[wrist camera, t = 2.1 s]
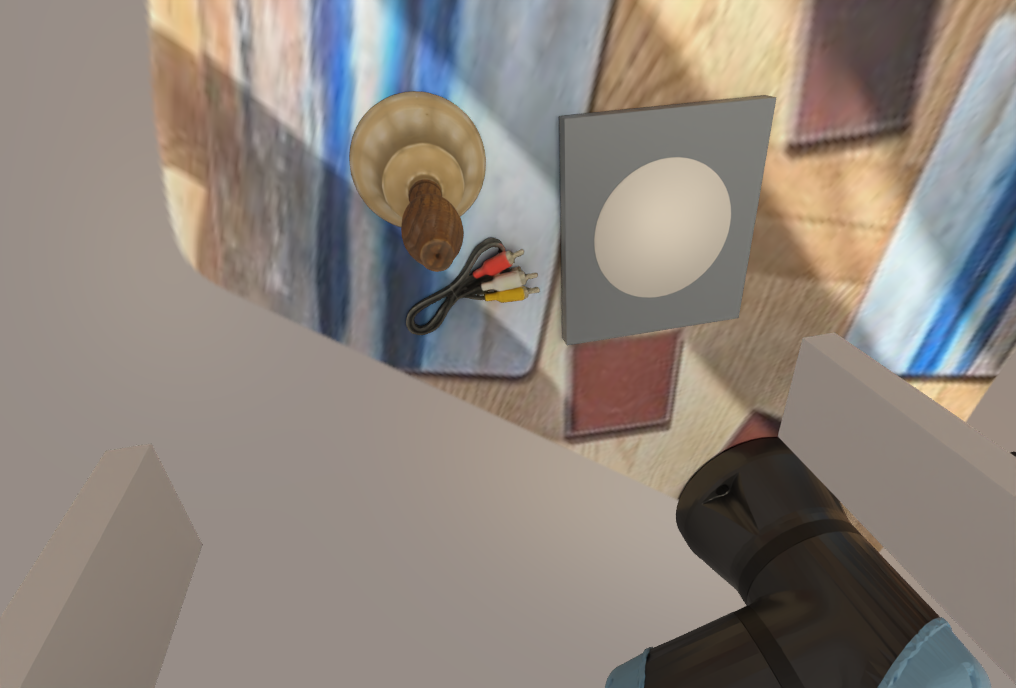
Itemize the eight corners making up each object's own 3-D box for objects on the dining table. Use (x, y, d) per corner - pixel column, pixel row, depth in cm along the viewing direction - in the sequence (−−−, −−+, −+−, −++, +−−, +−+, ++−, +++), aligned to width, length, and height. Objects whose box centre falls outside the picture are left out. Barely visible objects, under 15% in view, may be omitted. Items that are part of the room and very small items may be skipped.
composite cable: (415, 336, 40) (416, 353, 38) (383, 282, 38) (383, 297, 36) (538, 281, 40) (546, 295, 38) (514, 222, 38) (522, 234, 36)
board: (730, 311, 45) (739, 318, 43) (562, 337, 43) (567, 345, 42) (765, 95, 36) (777, 97, 35) (559, 116, 34) (565, 119, 33)
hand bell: (373, 242, 36) (368, 374, 23) (330, 107, 32) (293, 171, 18) (495, 213, 37) (563, 325, 23) (470, 77, 32) (535, 118, 19)
